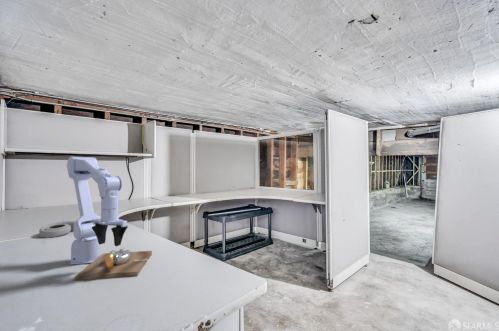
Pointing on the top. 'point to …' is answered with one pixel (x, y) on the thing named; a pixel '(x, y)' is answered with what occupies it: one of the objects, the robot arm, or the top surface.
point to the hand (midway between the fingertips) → (109, 244)
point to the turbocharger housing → (56, 229)
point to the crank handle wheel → (116, 258)
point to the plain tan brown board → (115, 267)
